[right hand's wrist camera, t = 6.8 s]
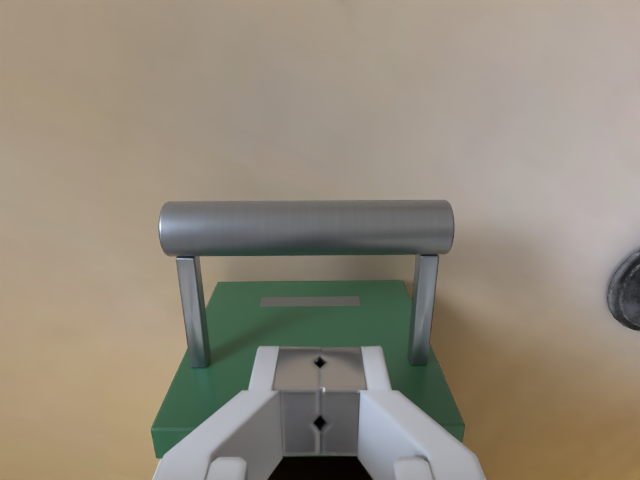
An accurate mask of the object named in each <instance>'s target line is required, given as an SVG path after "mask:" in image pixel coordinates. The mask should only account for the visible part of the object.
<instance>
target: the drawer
mask: <svg viewBox="0 0 640 480" xmlns="http://www.w3.org/2000/svg"><path fill="white" fill-rule="evenodd" d="M159 238H160V243H161V247H162V249H163V252H164V253H165V254H166V255H168V256H177V257H176V264H177V271H178V279H179V286H180V293H181V300H182V308H183V315H184V322H185V329H186V337H187V344H188V348H187V351H186V353H185V355H184V357H183V359H182V362H181V364H180V366H179V368H178V370H177V372H176V375H175V377H174V379H173V381H172V383H171V386H170V388H169V390H168V392H167V394H166V397H165V399H164V401H163V403H162V405H161V408H160V410H159V412H158V414H157V416H156V418H155V421H154V423H153V425H152V427H151V433H152V438H153V444H154V449H155V454H156V458H158V459H162V458H163V456H164V454H166V453H167V452H168V451H169V450H170V449H172V448H173V447H174V446H175V445H176V444H178V443H179V442H180V441H181V440H182V439H184V438H185V437H186V436H187V435H189V434H190V433H191V432H192V431H193V430H195V429H196V428H197V427H198V426H199V425H201V424H202V423H203V422H204V421H205V420H207V419H208V418H209V417H210V416H212V415H213V414H214V413H215V412H216V411H218V410H219V409H220V408H221V407H222V406H224V405H225V404H226V403H227V402H228V401H230V400H231V399H232V398H233V397H235V396H236V395H237V394H238V393H239V392H241V391H242V390H248V388H249V384H250V379H251V375H252V370H253V366H254V362H255V357H256V353H257V349H258V348H259V346H279V347H280V346H305V347H360V346H381V347H382V349H383V353H384V358H385V362H386V366H387V371H388V375H389V379H390V384H391V388H392V390H398V391H399V392H401V393H402V394H403V395H404V396H405V397H407V398H408V399H409V400H410V401H411V402H413V403H414V404H415V405H416V406H418V407H419V408H420V409H421V410H422V411H424V412H425V413H426V414H427V415H428V416H430V417H431V418H432V419H433V420H434V421H436V422H437V423H438V424H439V425H440V426H442V427H443V428H444V429H445V430H446V431H448V432H449V433H450V434H451V435H452V436H454V437H455V438H456V439H457V440H458V441H460V442H461V443H462V440H463V434H464V428H465V424H464V422H463V419H462V417H461V415H460V412H459V410H458V408H457V405H456V403H455V401H454V398H453V396H452V394H451V391H450V389H449V387H448V384H447V382H446V380H445V377H444V375H443V373H442V370H441V368H440V366H439V364H438V361H437V359H436V357H435V354H434V352H433V350H432V347H431V345H430V335H431V326H432V317H433V308H434V299H435V289H436V280H437V271H438V262H439V256H438V254H446V253H448V252H449V251H450V249H451V247H452V243H453V238H454V216H453V211H452V207H451V205H450V203H449V202H448V201H446V200H356V201H190V202H167V203H165V204H164V205H163V207H162V209H161V213H160V218H159ZM415 254H416V263H415V274H414V286H413V297H412V301H411V298H410V296H409V294H408V291H407V289H406V287H405V284H404V282H403V281H402V280H399V281H280V282H218V283H217V285H216V287H215V289H214V291H213V294H212V296H211V298H210V300H209V302H208V305H207V307H206V309H205V302H204V293H203V285H202V276H201V267H200V259H199V256H284V255H415ZM282 457H283V458H282V460H281V461H280V463H279V464H278V465H277V467H276V468H275V469H274V471H273V472H272V474H271V475H270V476H269V478H268V479H267V480H373V479H372V477H371V476H370V474H369V473H368V472H367V470H366V469H365V468H364V466H363V465H362V463H361V462H360V461H359V459H358V456H338V455H301V456H282Z"/></svg>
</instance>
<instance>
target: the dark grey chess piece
mask: <svg viewBox="0 0 640 480" xmlns="http://www.w3.org/2000/svg"><path fill="white" fill-rule="evenodd" d="M607 300H608V305H609V309H610V311H611V313H612V315H613V316H614V318H615V319H616V320H618V321H619V322H620V323H621V324H622V325H624V326H626V327H628V328H631V329H633V330H639V331H640V250H639V251H637V252H635V253H634V254H633V255H631V256H630V257H629V258H628V259H627V260H626V261H625V262H623V263H622V265H621V266H620V267H619V269H618V270H617V271H616V273H615V274H614V276H613V278H612V281H611V283H610V285H609V289H608V296H607Z"/></svg>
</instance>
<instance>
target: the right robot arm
mask: <svg viewBox="0 0 640 480" xmlns="http://www.w3.org/2000/svg"><path fill="white" fill-rule="evenodd" d="M301 455H338V456H358V459H359V461H360V462H361V463H362V465H363V466H364V468H365V469H366V470H367V472H368V473H369V474H370V476H371V477H372V479H373V480H486V477H485V475H484V472H483V470H482V467H481V465H480V463H479V460H478V458H477V455H475V454H474V453H473V452H472V451H471V450H469V449H468V448H467V447H466V446H465V445H463V444H462V443H461V442H460V441H458V440H457V439H456V438H455V437H454V436H452V435H451V434H450V433H449V432H448V431H446V430H445V429H444V428H443V427H442V426H440V425H439V424H438V423H437V422H436V421H434V420H433V419H432V418H431V417H430V416H428V415H427V414H426V413H425V412H424V411H422V410H421V409H420V408H419V407H418V406H416V405H415V404H414V403H413V402H411V401H410V400H409V399H408V398H407V397H405V396H404V395H403V394H402V393H401V392H399V391H398V390H392V388H391V384H390V379H389V375H388V371H387V366H386V362H385V358H384V353H383V349H382V347H381V346H360V347H305V346H280V347H279V346H259V348H258V349H257V353H256V357H255V362H254V366H253V370H252V375H251V379H250V384H249V388H248V390H242V391H241V392H239V393H238V394H237V395H236V396H235V397H233V398H232V399H231V400H230V401H228V402H227V403H226V404H225V405H224V406H222V407H221V408H220V409H219V410H218V411H216V412H215V413H214V414H213V415H212V416H210V417H209V418H208V419H207V420H205V421H204V422H203V423H202V424H201V425H199V426H198V427H197V428H196V429H195V430H193V431H192V432H191V433H190V434H189V435H187V436H186V437H185V438H184V439H182V440H181V441H180V442H179V443H178V444H176V445H175V446H174V447H173V448H172V449H170V450H169V451H168V452H167V453H166V454H164V456H163V458H162V461H161V463H160V465H159V468H158V470H157V473H156V475H155V477H154V480H267V479H268V478H269V476H270V475H271V474H272V472H273V471H274V469H275V468H276V467H277V465H278V464H279V463H280V461H281V460H282V458H283V457H282V456H301Z"/></svg>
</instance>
